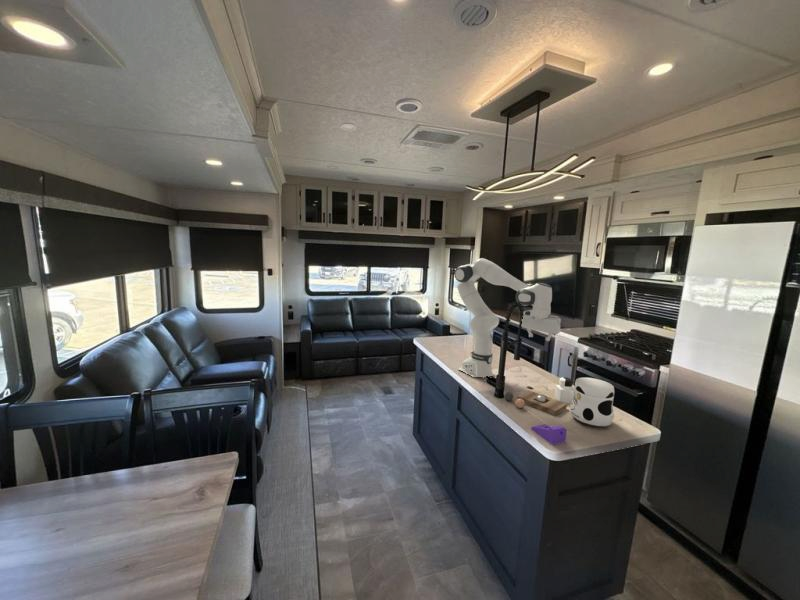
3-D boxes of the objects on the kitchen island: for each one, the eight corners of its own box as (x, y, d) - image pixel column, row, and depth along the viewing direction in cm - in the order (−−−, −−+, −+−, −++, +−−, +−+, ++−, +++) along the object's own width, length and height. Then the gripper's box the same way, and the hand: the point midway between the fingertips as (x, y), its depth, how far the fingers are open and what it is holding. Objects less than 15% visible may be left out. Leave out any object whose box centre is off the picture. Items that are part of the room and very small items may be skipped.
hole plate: (516, 400, 167) (517, 396, 166) (528, 394, 174) (529, 390, 174) (555, 415, 152) (555, 410, 151) (566, 408, 159) (566, 403, 159)
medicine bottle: (568, 397, 172) (570, 376, 170) (574, 403, 165) (576, 381, 163) (554, 396, 173) (556, 375, 171) (559, 402, 166) (561, 380, 164)
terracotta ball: (513, 407, 159) (513, 398, 159) (517, 404, 162) (518, 396, 162) (521, 410, 156) (522, 401, 155) (526, 407, 159) (526, 399, 158)
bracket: (565, 442, 130) (566, 427, 129) (551, 445, 128) (553, 429, 127) (543, 427, 142) (545, 413, 141) (531, 429, 139) (532, 415, 138)
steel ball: (538, 402, 166) (538, 393, 166) (547, 404, 163) (547, 395, 162) (534, 404, 163) (534, 395, 163) (543, 406, 160) (542, 398, 160)
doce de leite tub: (561, 411, 156) (565, 376, 153) (594, 411, 158) (598, 376, 155) (585, 431, 139) (589, 392, 136) (622, 430, 140) (627, 391, 138)
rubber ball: (502, 399, 167) (503, 391, 167) (507, 397, 170) (507, 389, 170) (510, 402, 164) (510, 394, 163) (514, 400, 167) (515, 392, 166)
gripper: (563, 316, 164) (561, 342, 166) (526, 310, 179) (524, 334, 181) (558, 317, 160) (555, 344, 162) (520, 311, 175) (518, 335, 177)
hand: (539, 338), depth 172 cm, fingers open, 8 cm apart
